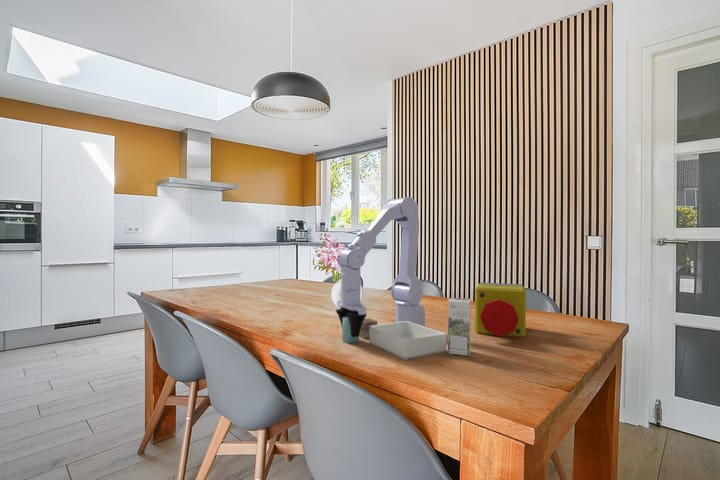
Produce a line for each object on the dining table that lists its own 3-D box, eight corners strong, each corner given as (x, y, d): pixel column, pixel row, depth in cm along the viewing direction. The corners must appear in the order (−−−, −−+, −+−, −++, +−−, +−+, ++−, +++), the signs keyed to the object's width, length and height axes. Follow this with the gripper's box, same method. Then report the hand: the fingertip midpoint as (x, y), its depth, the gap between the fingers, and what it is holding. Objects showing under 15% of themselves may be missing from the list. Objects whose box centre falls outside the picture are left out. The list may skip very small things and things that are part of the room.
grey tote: (406, 336, 115) (406, 320, 115) (446, 352, 100) (446, 333, 99) (369, 342, 108) (369, 325, 108) (405, 360, 93) (405, 340, 93)
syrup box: (470, 350, 101) (471, 298, 101) (469, 357, 95) (470, 301, 95) (449, 348, 103) (449, 296, 103) (447, 355, 97) (447, 300, 97)
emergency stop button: (472, 341, 110) (472, 291, 110) (478, 323, 133) (478, 282, 133) (526, 346, 105) (527, 294, 105) (523, 327, 127) (523, 284, 127)
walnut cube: (369, 333, 119) (369, 317, 119) (377, 336, 115) (377, 321, 115) (355, 335, 117) (355, 319, 117) (363, 339, 112) (363, 322, 112)
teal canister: (353, 337, 114) (354, 315, 114) (362, 341, 109) (362, 318, 109) (339, 339, 111) (339, 316, 111) (347, 344, 107) (347, 320, 107)
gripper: (328, 287, 114) (328, 330, 114) (350, 293, 102) (350, 342, 102) (348, 285, 118) (348, 327, 118) (372, 291, 105) (372, 338, 105)
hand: (350, 334), depth 110 cm, fingers closed on teal canister, 5 cm apart
